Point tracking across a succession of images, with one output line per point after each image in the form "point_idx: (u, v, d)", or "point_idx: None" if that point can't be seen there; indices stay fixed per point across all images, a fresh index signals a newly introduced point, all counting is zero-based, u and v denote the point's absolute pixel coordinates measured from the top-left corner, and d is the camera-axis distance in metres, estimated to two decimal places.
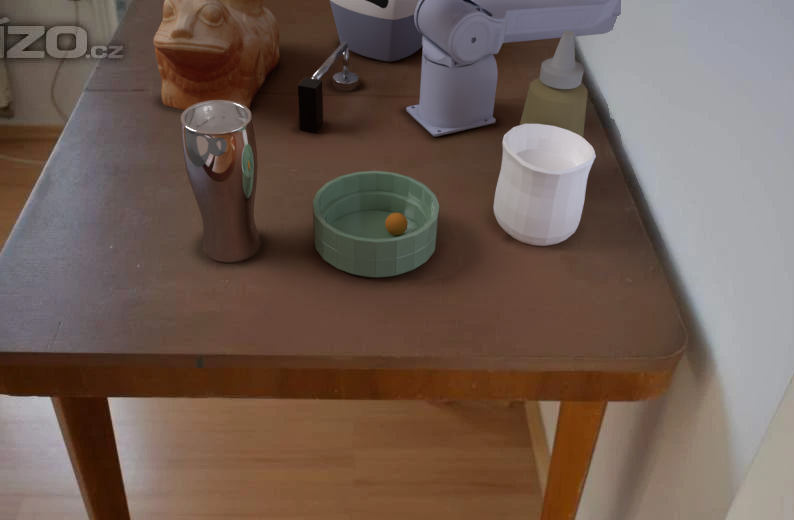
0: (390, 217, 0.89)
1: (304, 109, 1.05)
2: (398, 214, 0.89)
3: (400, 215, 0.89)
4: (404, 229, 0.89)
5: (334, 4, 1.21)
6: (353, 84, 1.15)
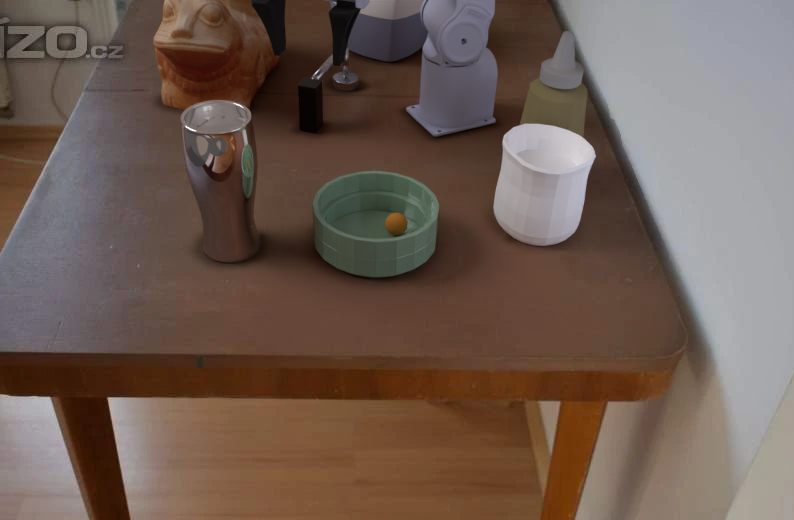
0: (390, 217, 0.89)
1: (304, 109, 1.05)
2: (398, 214, 0.89)
3: (400, 215, 0.89)
4: (404, 229, 0.89)
5: (334, 4, 1.21)
6: (353, 84, 1.15)
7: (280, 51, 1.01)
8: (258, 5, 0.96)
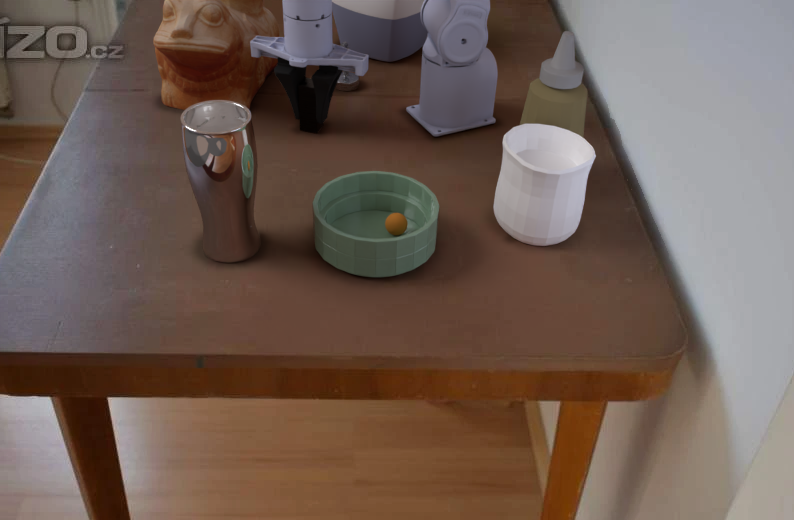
0: (390, 217, 0.89)
1: (304, 109, 1.05)
2: (398, 214, 0.89)
3: (400, 215, 0.89)
4: (404, 229, 0.89)
5: (334, 4, 1.21)
6: (353, 84, 1.15)
7: None
8: (281, 75, 1.01)
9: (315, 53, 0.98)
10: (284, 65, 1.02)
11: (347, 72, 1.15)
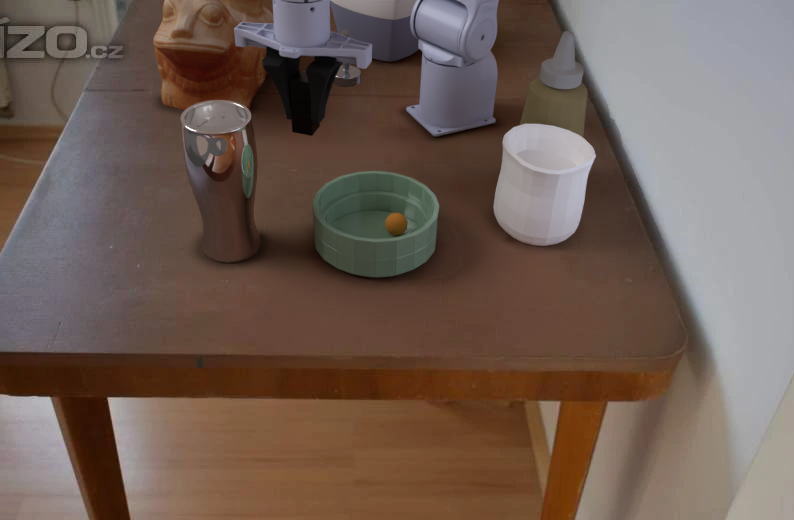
0: (390, 217, 0.89)
1: (297, 107, 0.90)
2: (398, 214, 0.89)
3: (400, 215, 0.89)
4: (404, 229, 0.89)
5: (334, 4, 1.21)
6: (354, 79, 1.01)
7: None
8: (270, 68, 0.87)
9: (309, 42, 0.84)
10: (274, 56, 0.87)
11: (347, 65, 1.01)
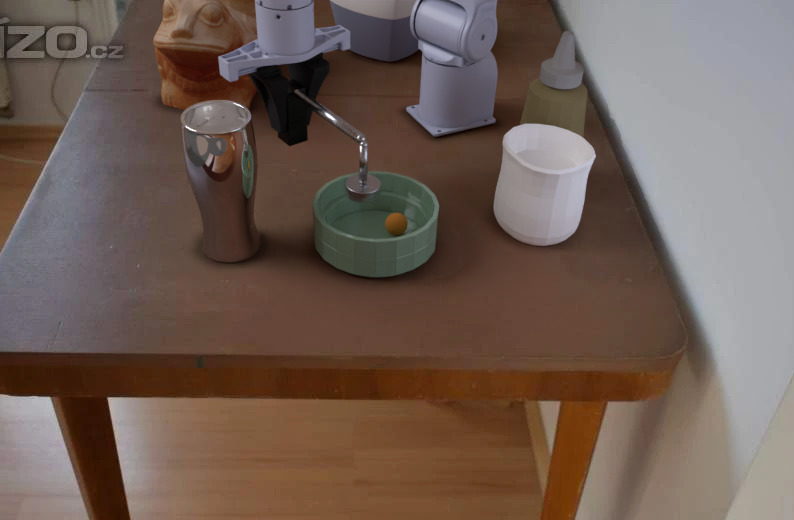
0: (390, 217, 0.89)
1: None
2: (398, 214, 0.89)
3: (400, 215, 0.89)
4: (404, 229, 0.89)
5: (334, 4, 1.21)
6: (345, 184, 0.84)
7: None
8: None
9: None
10: None
11: (359, 175, 0.83)
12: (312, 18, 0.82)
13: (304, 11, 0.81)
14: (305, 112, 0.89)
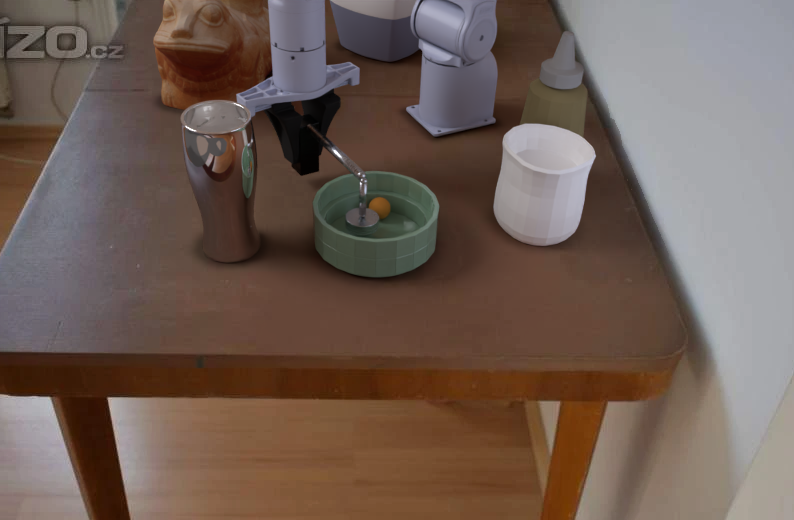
0: None
1: None
2: None
3: None
4: (387, 202, 0.91)
5: (334, 4, 1.21)
6: (345, 217, 0.89)
7: None
8: None
9: None
10: None
11: (359, 209, 0.88)
12: (324, 58, 0.88)
13: (317, 52, 0.86)
14: (317, 145, 0.95)
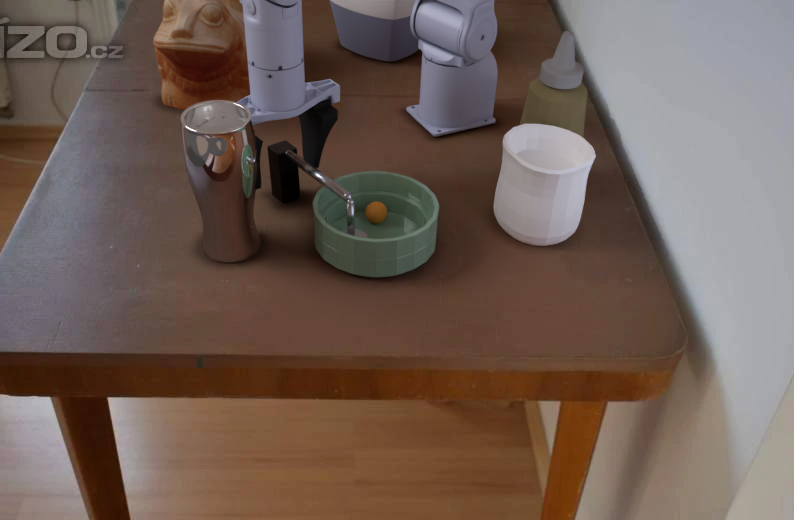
0: None
1: None
2: None
3: None
4: (382, 209, 0.90)
5: (334, 4, 1.21)
6: None
7: (306, 160, 0.96)
8: None
9: None
10: None
11: (347, 231, 0.87)
12: (302, 76, 0.86)
13: (295, 71, 0.84)
14: (297, 171, 0.93)
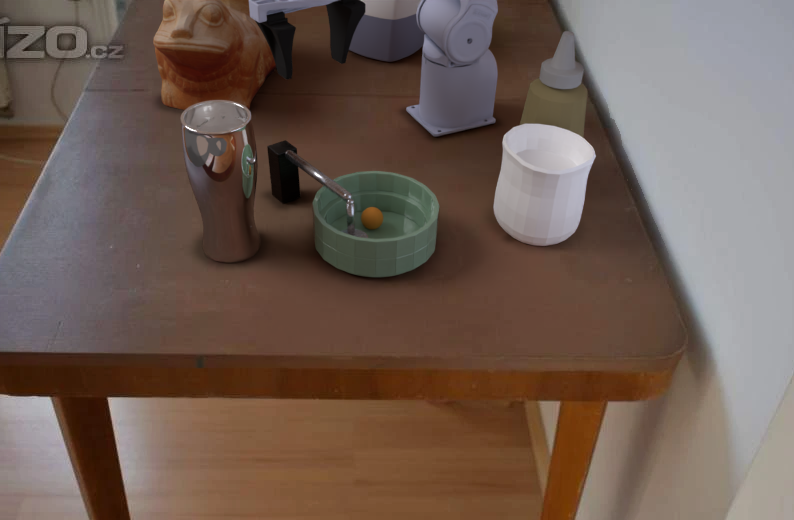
0: (369, 207, 0.90)
1: None
2: (378, 209, 0.90)
3: (379, 210, 0.90)
4: (375, 222, 0.89)
5: None
6: None
7: (334, 56, 1.01)
8: None
9: None
10: None
11: (347, 231, 0.87)
12: None
13: None
14: (297, 171, 0.93)
